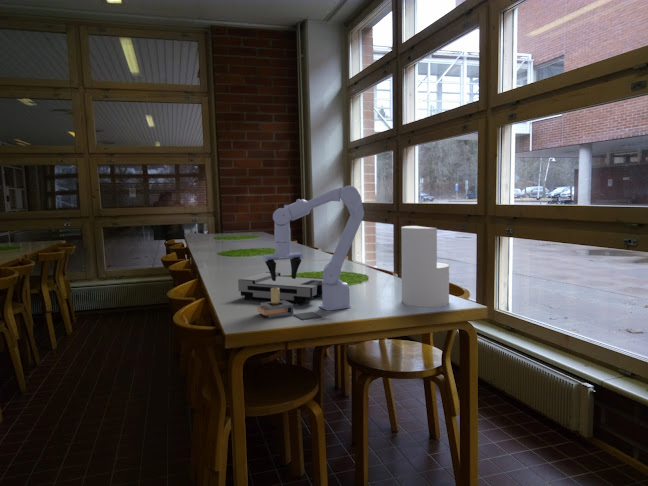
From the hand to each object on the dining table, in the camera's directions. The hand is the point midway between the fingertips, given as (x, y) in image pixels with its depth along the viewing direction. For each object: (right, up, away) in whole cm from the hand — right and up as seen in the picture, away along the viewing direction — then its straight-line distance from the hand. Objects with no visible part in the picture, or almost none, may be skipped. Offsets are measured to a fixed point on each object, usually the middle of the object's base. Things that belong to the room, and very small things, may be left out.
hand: (283, 279), depth 166 cm
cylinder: (+52, -9, +6) cm, 53 cm away
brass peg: (-2, -11, -8) cm, 14 cm away
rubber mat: (+9, -11, -12) cm, 19 cm away
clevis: (-2, -11, -8) cm, 14 cm away
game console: (0, -9, +19) cm, 21 cm away
